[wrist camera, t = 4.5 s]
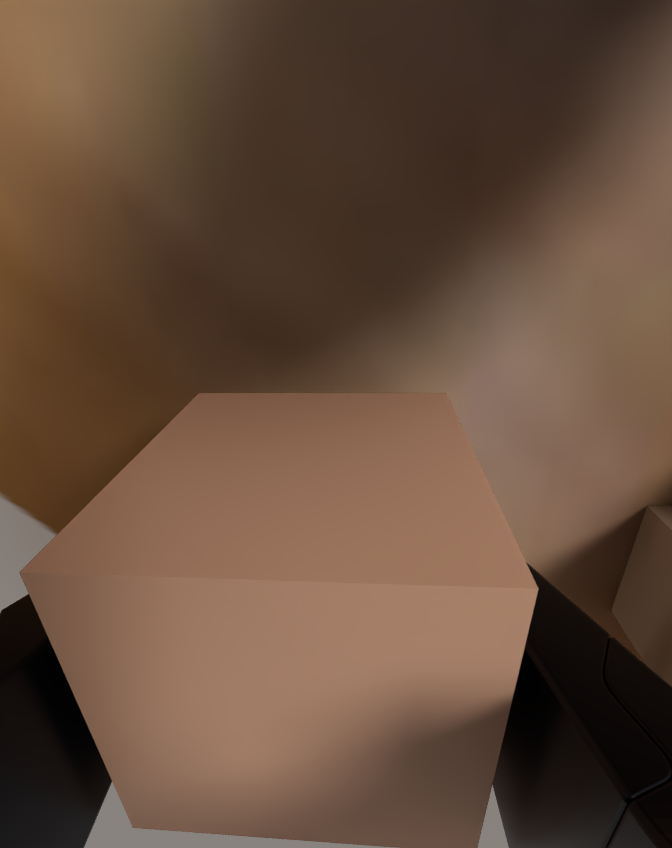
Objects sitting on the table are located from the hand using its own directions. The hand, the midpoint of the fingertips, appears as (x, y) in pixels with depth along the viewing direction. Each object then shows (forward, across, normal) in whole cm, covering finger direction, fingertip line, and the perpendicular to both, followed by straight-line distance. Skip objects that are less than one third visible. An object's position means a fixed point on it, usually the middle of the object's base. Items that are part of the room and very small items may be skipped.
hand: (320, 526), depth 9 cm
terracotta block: (+1, 0, 0) cm, 1 cm away
